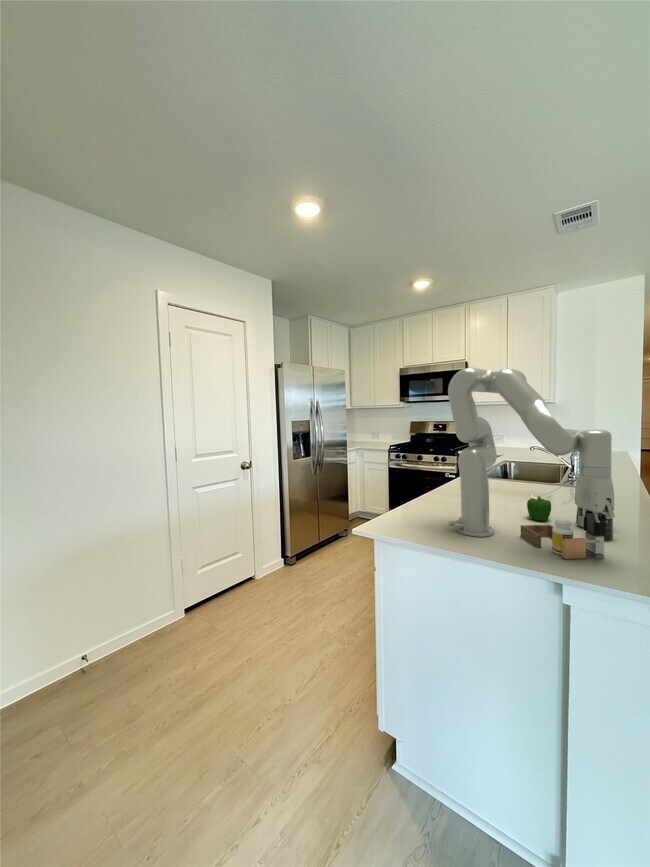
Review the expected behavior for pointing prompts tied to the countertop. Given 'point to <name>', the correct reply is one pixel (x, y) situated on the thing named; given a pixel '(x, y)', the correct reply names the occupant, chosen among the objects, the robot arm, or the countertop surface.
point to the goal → (536, 533)
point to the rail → (596, 556)
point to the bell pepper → (539, 508)
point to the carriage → (583, 542)
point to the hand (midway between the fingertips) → (594, 532)
